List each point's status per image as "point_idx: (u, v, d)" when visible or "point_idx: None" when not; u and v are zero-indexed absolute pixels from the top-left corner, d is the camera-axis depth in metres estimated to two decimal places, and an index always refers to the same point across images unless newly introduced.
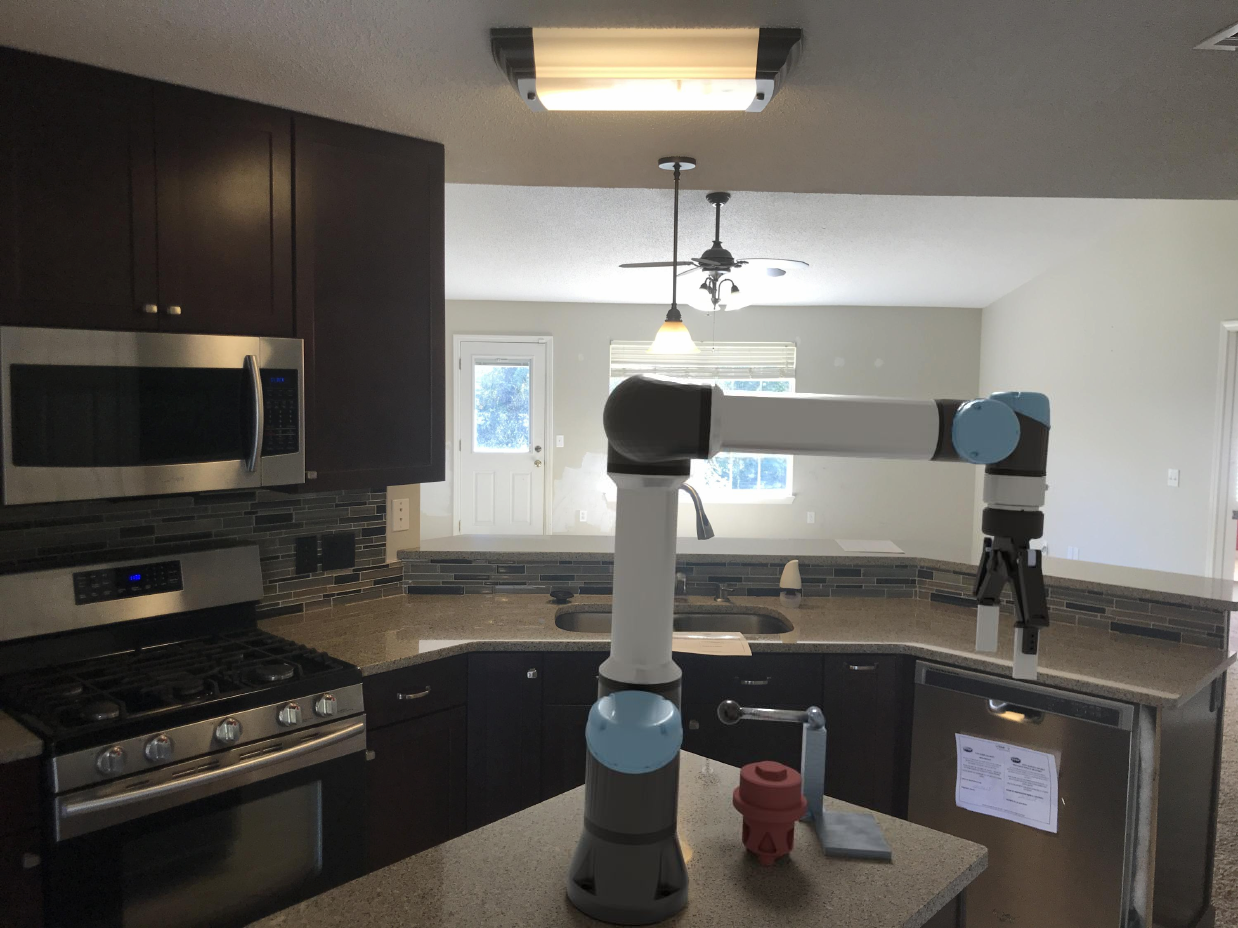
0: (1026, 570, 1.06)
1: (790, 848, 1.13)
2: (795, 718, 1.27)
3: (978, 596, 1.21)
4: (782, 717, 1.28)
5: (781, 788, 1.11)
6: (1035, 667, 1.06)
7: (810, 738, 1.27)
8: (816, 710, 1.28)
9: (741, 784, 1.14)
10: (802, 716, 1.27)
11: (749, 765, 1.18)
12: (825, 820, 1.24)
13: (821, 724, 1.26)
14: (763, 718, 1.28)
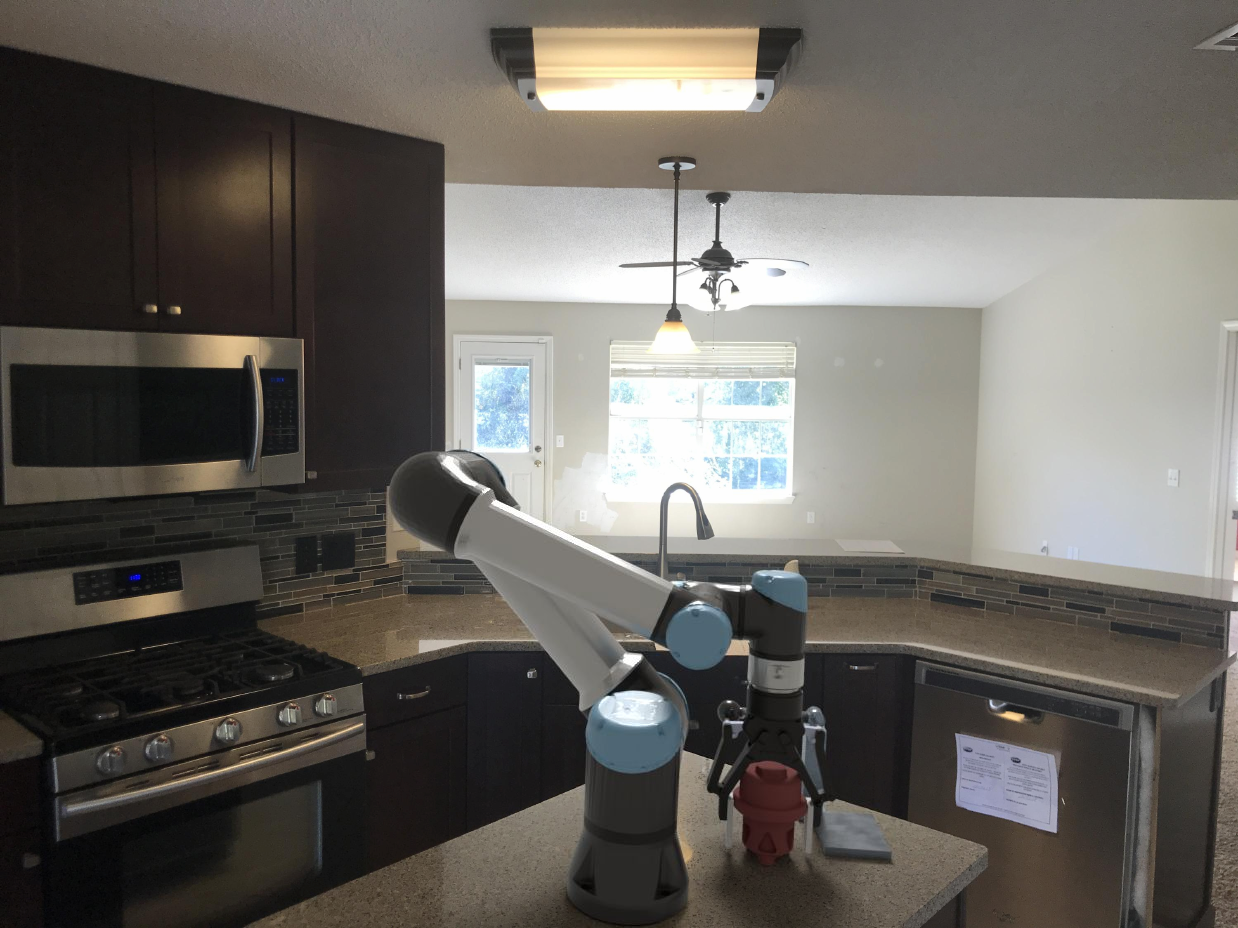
0: (721, 738, 1.16)
1: (790, 848, 1.13)
2: None
3: None
4: None
5: (781, 788, 1.11)
6: (726, 835, 1.15)
7: None
8: (816, 710, 1.28)
9: (741, 784, 1.14)
10: (802, 716, 1.27)
11: (749, 765, 1.18)
12: (825, 820, 1.24)
13: (821, 724, 1.26)
14: None
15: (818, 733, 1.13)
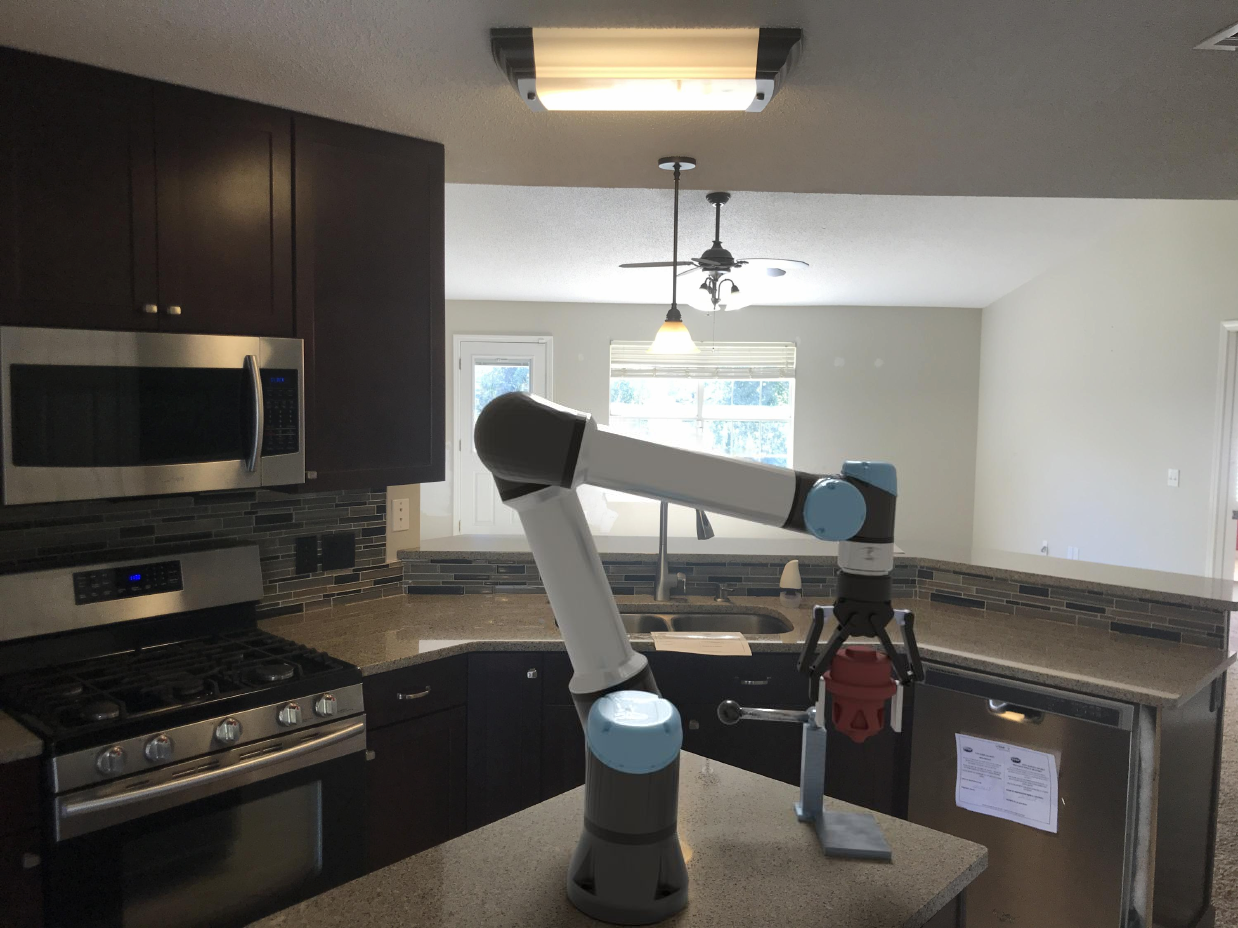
0: None
1: (881, 726, 1.17)
2: (795, 718, 1.27)
3: None
4: (782, 717, 1.28)
5: (874, 666, 1.15)
6: (818, 715, 1.19)
7: (810, 738, 1.27)
8: None
9: (832, 665, 1.18)
10: (802, 716, 1.27)
11: (838, 650, 1.22)
12: (825, 820, 1.24)
13: None
14: (763, 718, 1.28)
15: (907, 615, 1.17)
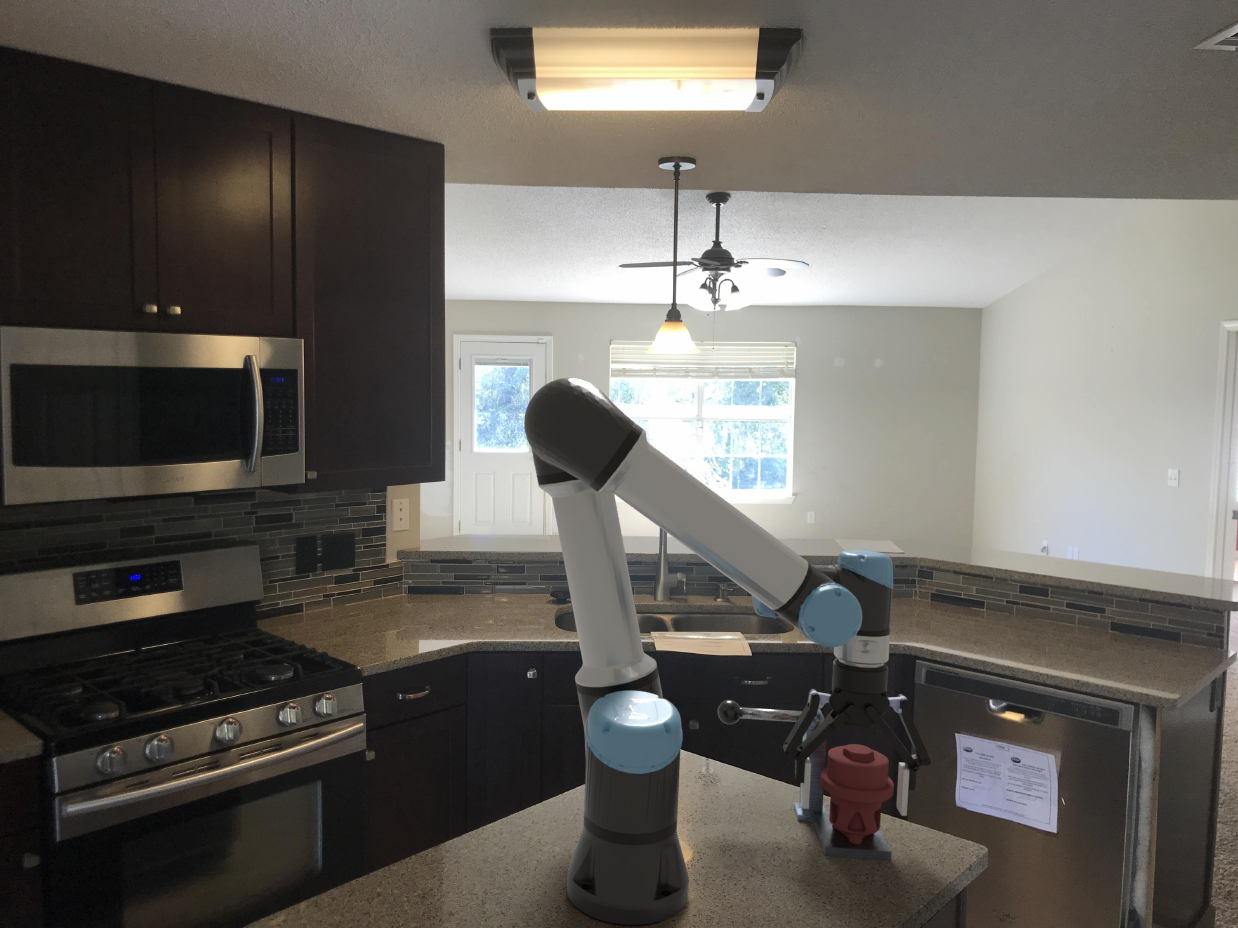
0: (805, 707, 1.21)
1: (878, 827, 1.18)
2: (795, 718, 1.27)
3: None
4: (782, 717, 1.28)
5: (871, 769, 1.16)
6: (803, 797, 1.19)
7: None
8: None
9: (830, 766, 1.19)
10: None
11: (835, 748, 1.22)
12: (825, 820, 1.24)
13: None
14: (763, 718, 1.28)
15: (903, 703, 1.18)
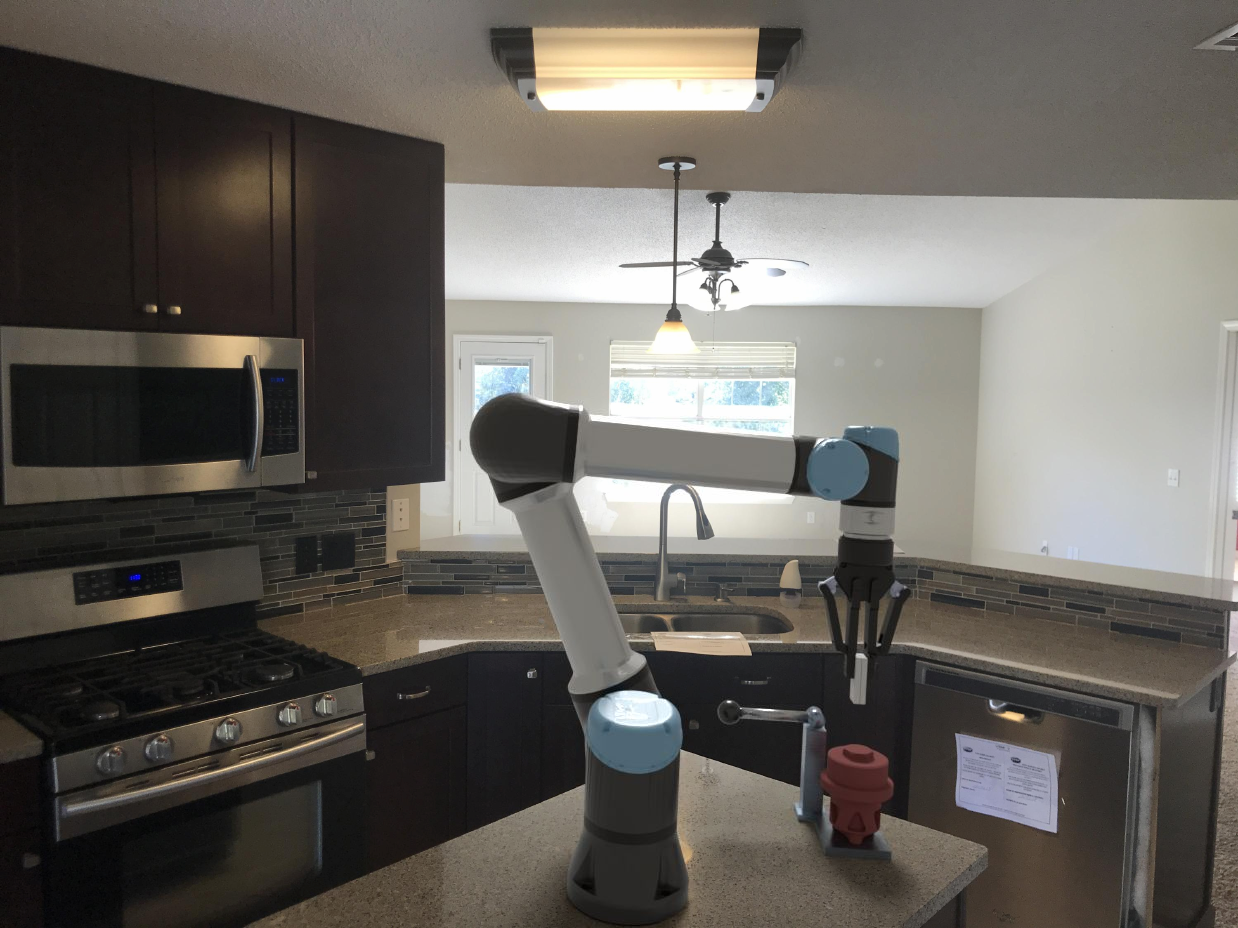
0: (824, 601, 1.20)
1: (878, 827, 1.18)
2: (795, 718, 1.27)
3: None
4: (782, 717, 1.28)
5: (871, 769, 1.16)
6: (854, 692, 1.18)
7: (810, 738, 1.27)
8: (816, 710, 1.28)
9: (830, 766, 1.19)
10: (802, 716, 1.27)
11: (835, 748, 1.22)
12: (825, 820, 1.24)
13: (821, 724, 1.26)
14: (763, 718, 1.28)
15: (905, 590, 1.17)
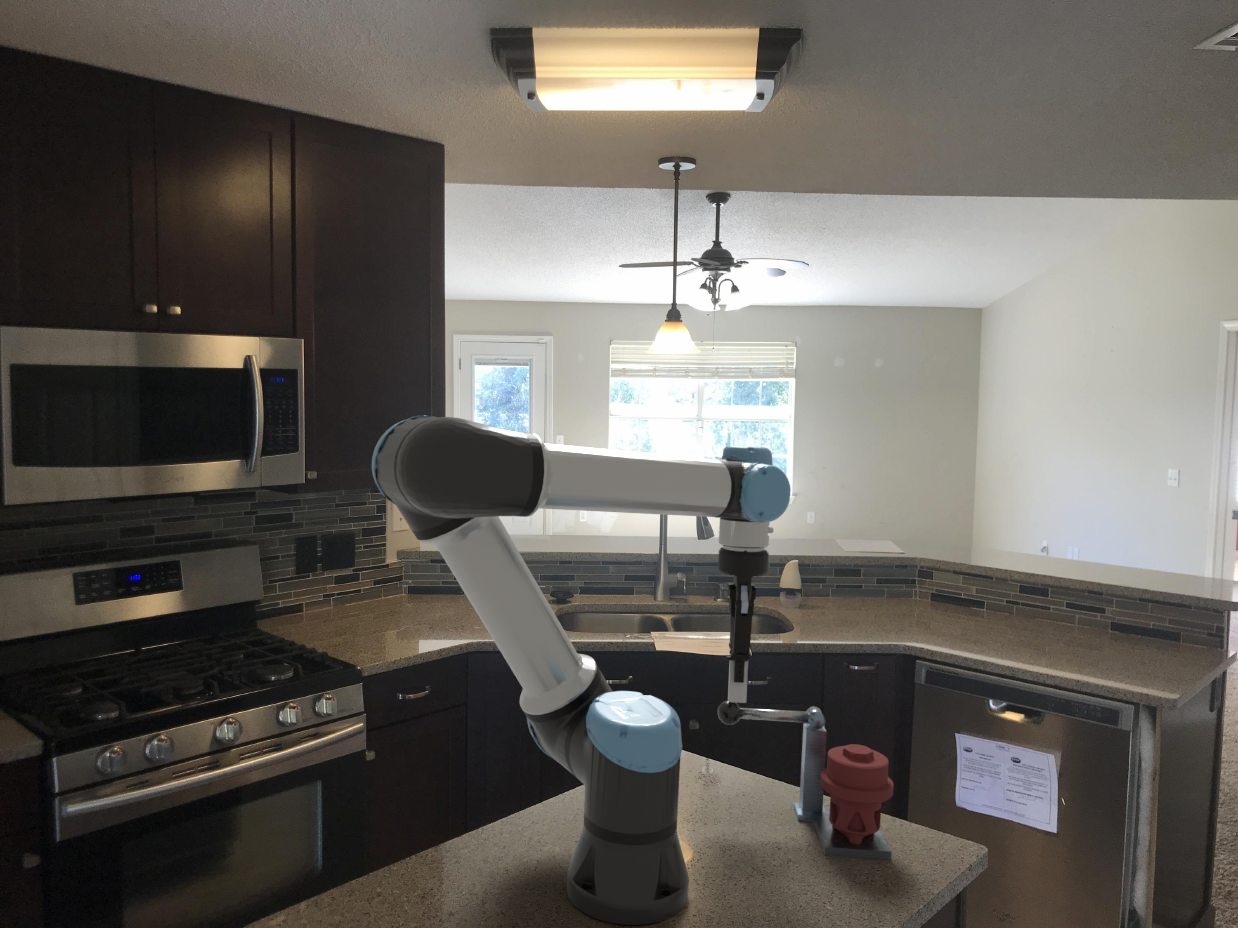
0: (738, 618, 1.23)
1: (878, 827, 1.18)
2: (795, 718, 1.27)
3: (730, 648, 1.30)
4: (782, 717, 1.28)
5: (871, 769, 1.16)
6: (745, 693, 1.28)
7: (810, 738, 1.27)
8: (816, 710, 1.28)
9: (830, 766, 1.19)
10: (802, 716, 1.27)
11: (835, 748, 1.22)
12: (825, 820, 1.24)
13: (821, 724, 1.26)
14: (763, 718, 1.28)
15: None
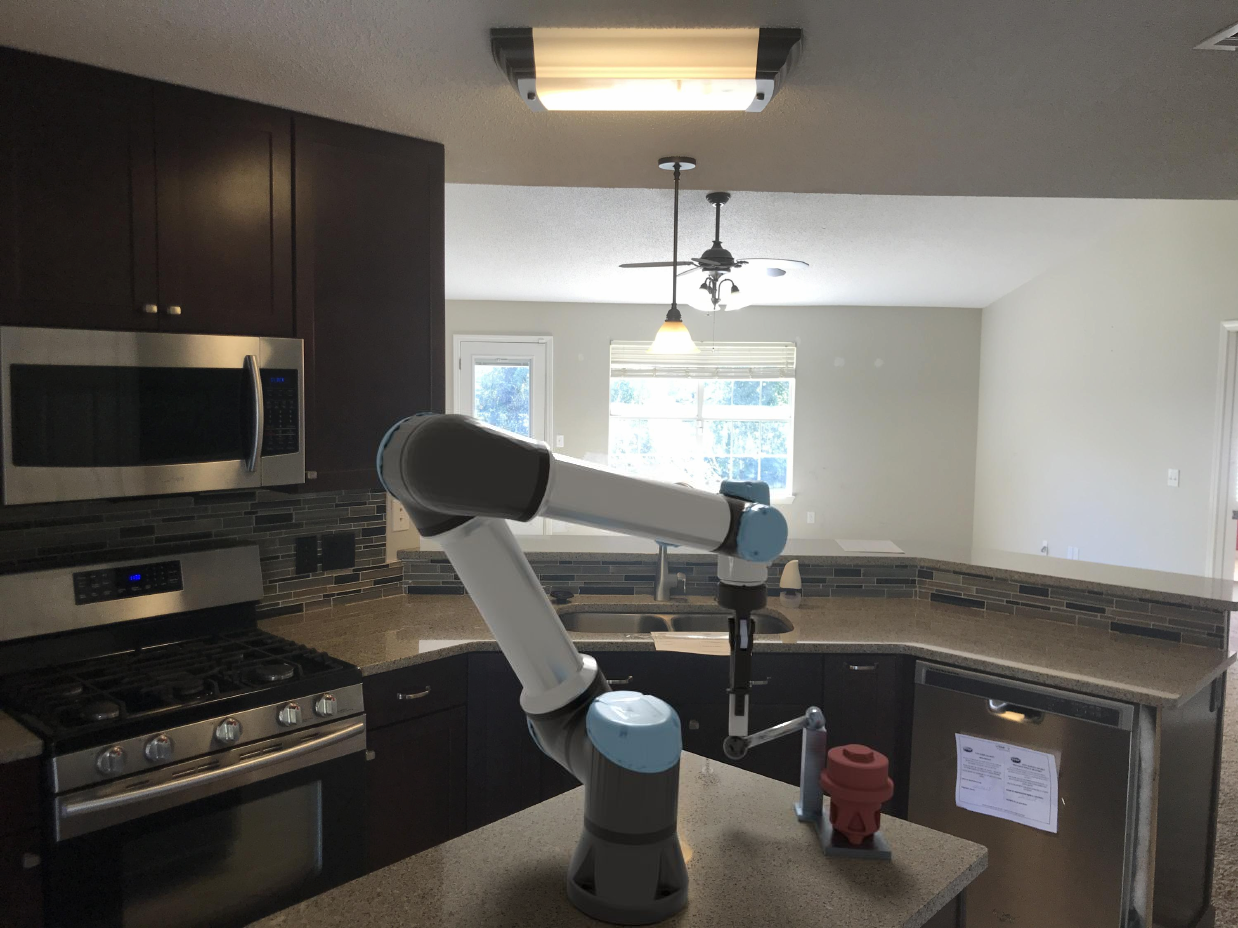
0: (738, 652, 1.23)
1: (878, 827, 1.18)
2: (797, 726, 1.27)
3: None
4: (784, 731, 1.28)
5: (871, 769, 1.16)
6: (746, 726, 1.28)
7: (810, 738, 1.27)
8: (813, 710, 1.28)
9: (830, 766, 1.19)
10: (803, 722, 1.27)
11: (835, 748, 1.22)
12: (825, 820, 1.24)
13: (822, 722, 1.26)
14: (768, 739, 1.28)
15: None
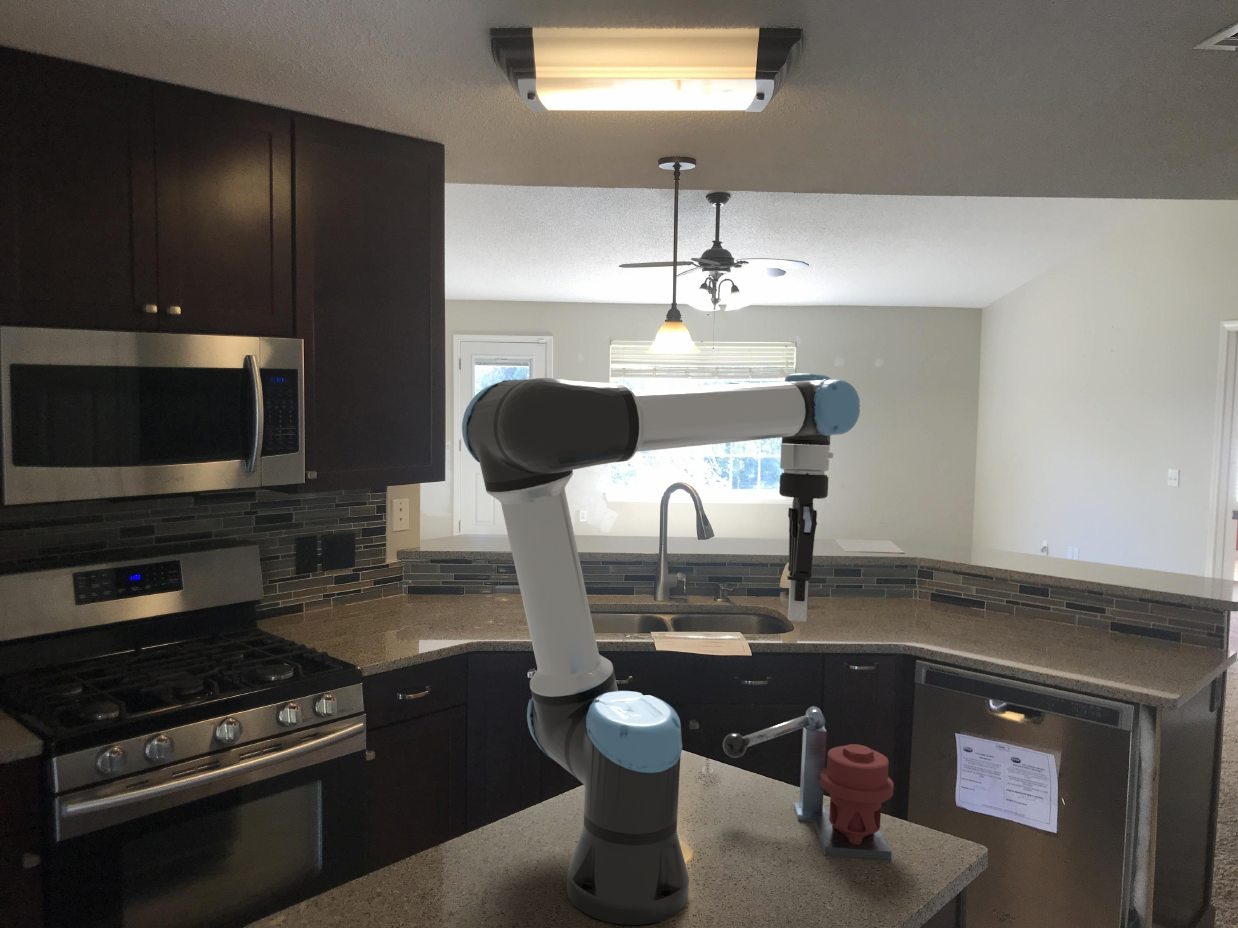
0: (801, 537, 1.28)
1: (878, 827, 1.18)
2: (797, 726, 1.27)
3: (790, 570, 1.35)
4: (784, 730, 1.28)
5: (871, 769, 1.16)
6: (805, 612, 1.33)
7: (810, 738, 1.27)
8: (813, 710, 1.28)
9: (830, 766, 1.19)
10: (803, 721, 1.27)
11: (835, 748, 1.22)
12: (825, 820, 1.24)
13: (822, 722, 1.26)
14: (767, 738, 1.28)
15: None
